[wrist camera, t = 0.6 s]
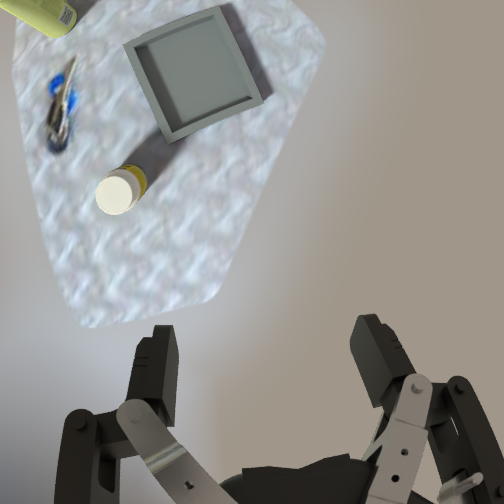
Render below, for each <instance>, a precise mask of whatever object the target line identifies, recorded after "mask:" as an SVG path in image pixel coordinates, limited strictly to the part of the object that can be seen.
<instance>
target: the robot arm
mask: <svg viewBox="0 0 504 504" xmlns="http://www.w3.org/2000/svg"><path fill="white" fill-rule="evenodd" d="M350 349H351V352H352V354H353V357H354V360H355V362H356V365H357V367H358V370H359V372H360V375H361V377H362V380H363V382H364V385H365V387H366V390H367V392H368V395H369V398H370V400H371V403H372V405H373V408H376V407H380V406H382V407H383V410H384V411H383V412H382V414H381V417H380V420H379V422H378V425H377V428H376V430H375V433H374V435H373V438H372V440H371V443H370V445H369V447H368V449H367V451H366V452H365V454H364V455H363V457H362V459H361V460H358V459H350V456H349V454H343V455H338V456H333V457H329V458H324V459H322V460H319V461H317V462H315V463H313V464H310V465H308V466H305V467H303V468H300V469H291V468H281V467H272V466H267V467H255V468H242V474H238V475H236V476H233V477H231V478H229V479H227V480H225V481H223V482H222V483H221V484H217V482H216V481H214V479H213V478H212V477H211V476H210V475H209V474H208V473H207V472H206V471H205V470H204V469H203V468H202V467H201V466H200V465H199V463H198V462H197V461H196V460H195V459H194V458H193V457H192V456H191V454H190V453H189V452H188V451H187V450H186V449H185V448H184V447H183V446H182V445H180V444H179V443H178V442H177V440H176V439H175V438H174V437H173V436H172V434H171V433H170V432H169V431H168V429H167V427H174V422H175V404H176V390H177V376H178V364H179V353H178V347H177V342H176V337H175V333H174V328H173V325H155V327H154V331H153V336H152V337H143V339H142V340H141V341H140V343H139V344H138V345H137V348H136V353H135V359H134V362H133V367H132V371H131V377H130V381H129V387H128V392H127V397H126V400H125V402H124V403H123V404H121V405H120V406H119V408H118V409H116V410H114V411H111V412H107V413H102V414H97V415H93V414H92V413H91V412H90V411H88V410H85V409H77V410H74V411H72V412H71V413H70V414H69V415H68V416H67V417H66V419H65V423H64V428H63V434H62V439H61V446H60V452H59V459H58V466H57V475H56V484H55V496H54V504H119V490H120V489H119V487H120V459H121V458H127V457H131V456H136V455H140V457H141V458H142V459H143V461H144V462H145V464H146V466H147V467H148V469H149V470H150V471H151V473H152V474H153V476H154V477H155V478H156V479H157V481H158V482H159V483H160V485H161V486H162V487H163V488H164V489H165V491H166V492H167V493H168V494H169V496H170V497H171V498H172V499H173V500H174V502H175V503H176V504H434V503H433V502H431V501H429V500H427V499H426V498H424V497H422V496H421V495H419V494H418V493H416V492H414V491H413V490H411V489H412V486H413V484H414V481H415V478H416V474H417V472H418V468H419V465H420V462H421V458H422V455H423V451H424V447H425V444H426V440H427V439H428V441H429V444H430V447H431V450H432V453H433V456H434V459H435V463H436V466H437V469H438V472H439V475H440V479H441V482H442V486H441V488H440V491H439V495H438V497H437V501H438V503H439V504H504V458H503V456H502V453H501V450H500V448H499V445H498V442H497V440H496V438H495V435H494V433H493V430H492V428H491V426H490V424H489V421H488V419H487V417H486V415H485V412H484V411H483V408H482V406H481V404H480V402H479V400H478V398H477V396H476V394H475V392H474V390H473V388H472V386H471V384H470V382H469V381H468V380H467V379H466V378H464V377H462V376H453V377H452V378H450V380H449V381H448V382H447V383H431V382H430V381H429V379H428V378H426V377H425V376H423V375H421V374H417V373H416V371H415V369H414V367H413V365H412V364H411V362H410V360H409V358H408V356H407V354H406V352H405V350H404V349H403V348H402V345H401V343H400V342H399V341H398V338H397V336H396V334H395V333H394V331H393V330H392V329H391V328H390V327H389V326H388V325H387V324H381V322H380V320H379V318H378V317H377V315H376V314H367V315H359V316H358V318H357V320H356V323H355V326H354V329H353V332H352V335H351V338H350ZM451 418H452V419H453V421H454V424H455V426H456V429H457V431H458V435H457V432H456V429H455V427H454V424H453V422H452V419H451Z"/></svg>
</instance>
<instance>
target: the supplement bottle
mask: <svg viewBox="0 0 504 504" xmlns="http://www.w3.org/2000/svg"><path fill="white" fill-rule="evenodd" d="M147 187H148V178H147V175H146V173H145V171H144V170H143V169H142V168H141V167H139V166H137V165H135V164H126V165H123V166H121V167H119V168H117V169H115V170H112V171H111V172H109V173H108V174H106V175H105V177H104V178H103V179H102V181H101V182H100V184H99V185H98V187H97V190H96V200H97V203H98V205H99V207H100V208H101V209H102V210H103V211H104V212H106V213H108V214H112V215H117V214H121V213H123V212H126V211H128V210H130V209H131V208H133V207H134V206H135V205H136V204H137V202H138V201H139V200H140V198H141V197H142V196H143V195H144V193H145V192H146V190H147Z"/></svg>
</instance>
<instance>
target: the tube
mask: <svg viewBox="0 0 504 504" xmlns="http://www.w3.org/2000/svg"><path fill="white" fill-rule="evenodd" d="M0 8H2V9H4V10H6V11H7V12H9V13H11V14H13V15H14V16H16V17H17V18H19V19H21V20H22V21H24V22H26V23H27V24H29V25H31V26H32V27H34V28H36V29H37V30H39V31H40V32H42V33H44V34H45V35H47V36H49V37H51V38H58V37H61V36H63V35H65V34H66V33H68V32H69V31H70V30H71V29H72V27H73V26H74V24H75V22H76V19H77V13H76V11H75V9H74V8H73V7H72V6H71V5H70V4H68V3H67V2H66V1H65V0H0Z"/></svg>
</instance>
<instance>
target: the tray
mask: <svg viewBox="0 0 504 504" xmlns="http://www.w3.org/2000/svg"><path fill="white" fill-rule="evenodd" d="M123 46H124V49H125V51H126V53H127V56H128V58H129V60H130V63H131V65H132V67H133V69H134V72H135V74H136V76H137V78H138V81H139V83H140V85H141V87H142V90H143V92H144V94H145V96H146V98H147V101H148V103H149V105H150V107H151V109H152V112H153V114H154V116H155V118H156V120H157V123H158V125H159V127H160V129H161V131H162V133H163V135H164V138H165V140H166V142H167V144H170V143H173V142H175V141H177V140H179V139H181V138H183V137H185V136H187V135H189V134H191V133H194V132H196V131H198V130H200V129H202V128H205V127H207V126H209V125H211V124H214V123H216V122H218V121H221V120H223V119H226V118H228V117H230V116H233V115H235V114H238V113H240V112H243V111H245V110H248V109H250V108H253V107H256V106H258V105H261V104H263V103H264V102H263V100H262V97H261V95H260V93H259V90H258V88H257V86H256V84H255V81H254V79H253V77H252V74H251V72H250V70H249V68H248V66H247V63H246V61H245V59H244V57H243V55H242V53H241V50H240V48H239V46H238V44H237V42H236V40H235V38H234V36H233V34H232V32H231V30H230V27H229V25H228V23H227V21H226V19H225V17H224V15H223V13H222V11H221V9H220V7H219V6H217V7H214V8H210V9H207V10H204V11H201V12H198V13H196V14H193V15H190V16H187V17H185V18H182V19H179V20H177V21H174V22H172V23H169V24H167V25H164V26H162V27H160V28H157V29H155V30H153V31H151V32H148V33H146V34H144V35H142V36H140V37H138V38H136V39H133V40H131V41H129V42H127V43H125V44H123Z"/></svg>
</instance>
